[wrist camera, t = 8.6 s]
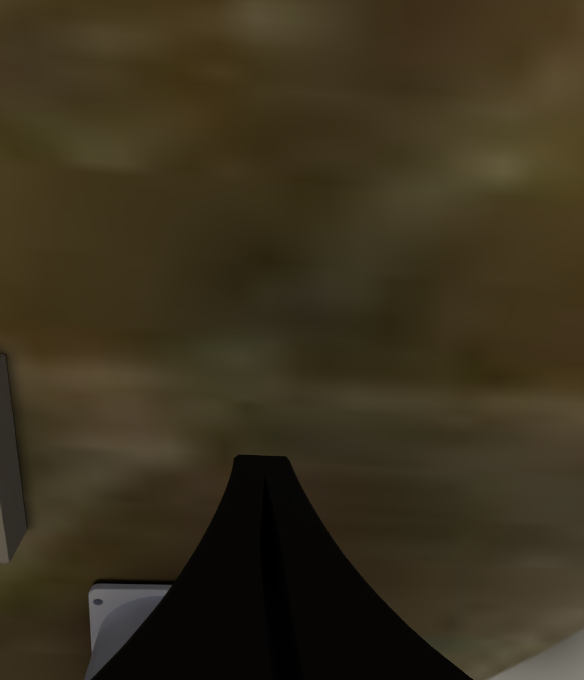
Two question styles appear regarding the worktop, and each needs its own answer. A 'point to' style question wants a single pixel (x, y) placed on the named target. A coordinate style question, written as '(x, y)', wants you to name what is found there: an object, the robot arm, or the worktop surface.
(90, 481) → the worktop surface
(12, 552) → the board
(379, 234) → the worktop surface
